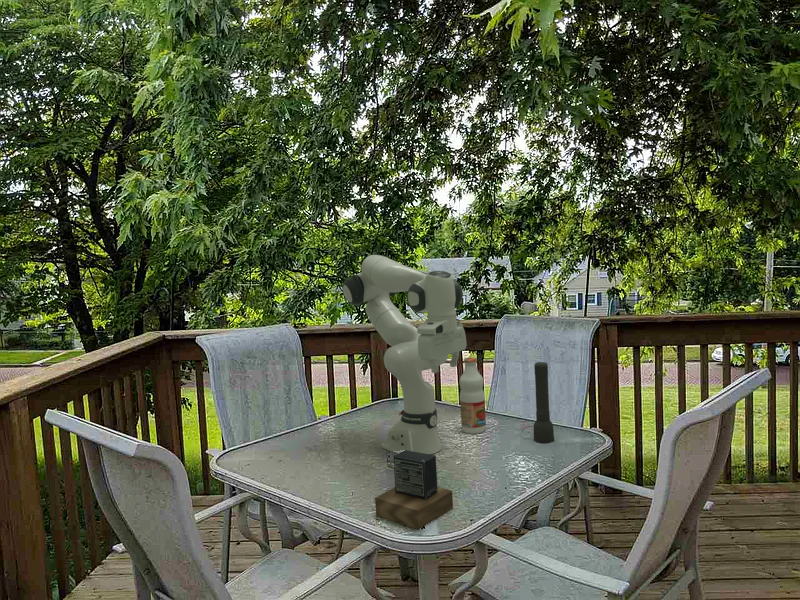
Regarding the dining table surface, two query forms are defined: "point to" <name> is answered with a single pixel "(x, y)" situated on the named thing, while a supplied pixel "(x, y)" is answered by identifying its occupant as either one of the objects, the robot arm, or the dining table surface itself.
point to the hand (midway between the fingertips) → (444, 369)
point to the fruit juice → (472, 399)
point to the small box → (415, 474)
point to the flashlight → (542, 406)
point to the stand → (413, 507)
